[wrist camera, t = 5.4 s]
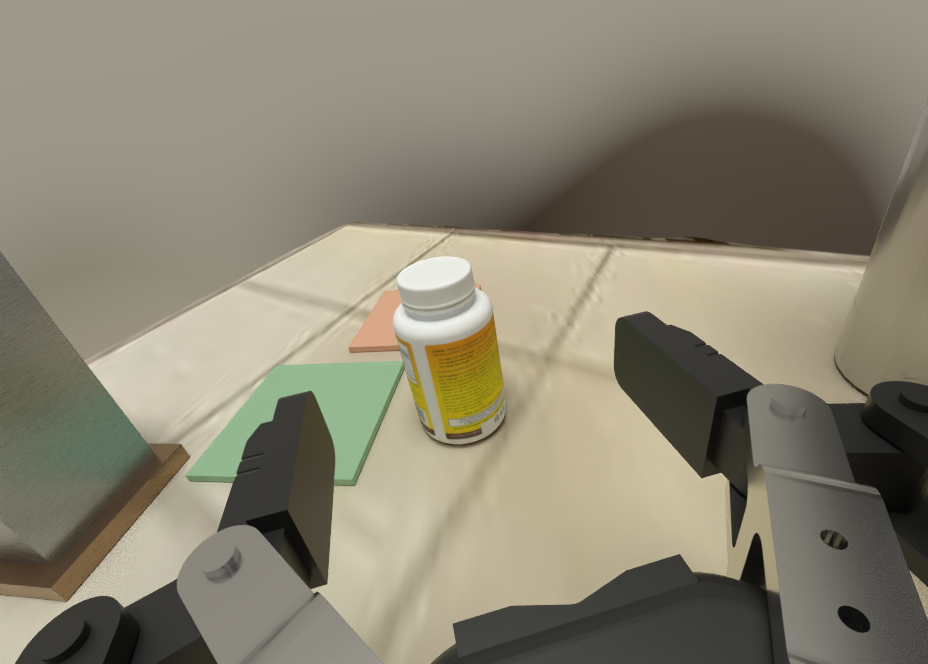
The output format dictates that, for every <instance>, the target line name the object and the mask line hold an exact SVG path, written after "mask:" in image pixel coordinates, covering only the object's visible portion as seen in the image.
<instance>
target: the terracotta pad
mask: <svg viewBox="0 0 928 664" xmlns="http://www.w3.org/2000/svg"><path fill="white" fill-rule="evenodd" d="M475 288H477V289H479V290H481V285H480V284H479V285H475ZM401 303H402V301H401V300H400V293H399V290H395V291H384V292H383V294H382V295H381V297H380V299H379V300H378V302H377V303H376V305H375V306H374V308H373V310H372V311H371V313H370V314H369V316H368V317H367V319H366V320H365V322H364V324H363V325H362V327H361V328H360V330H359V331H358V333H357V335H356V336H355V338H354V339H353V341H352V342H351V344H350V346H349V347H348V348H349V351H350V352H370V351H394V350H400V349H399V346H398V342H397V339H396V335H395V332H394V328H393V316H394V313H395V311H396V309H397V308H398V306H399V305H400V304H401Z"/></svg>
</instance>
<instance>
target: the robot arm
mask: <svg viewBox="0 0 928 664" xmlns="http://www.w3.org/2000/svg"><path fill="white" fill-rule="evenodd" d="M927 101H928V100H927ZM835 360H836V364H837V366H838V368H839V369H840V371H841V372H842V373H843V375H844V376H845V377H846V378H847V379H848V380H849V381H850V382H852V383H853V384H854V385H855V386H856V387H857V388H859V389H861V390H862V391H864V392H865V393H867V394H868V395H869V396H868V398H867V400H866V403H849V404H827V403H825V402H824V401H823V400H822V399H821V398H819V397H818V396H816V395H814V394H812V393H810V392H808V391H806V390H803V389H800V388H797V387H793V386H789V385H783V384H765V385H764V384H762V383H761V382H759V381H758V380H757V379H755V378H754V377H752V376H751V375H750V374H748V373H747V372H745V371H744V370H743V369H741V368H740V367H739V366H737V365H736V364H734V363H733V362H732V361H730V360H729V359H727V358H726V357H725V356H723V355H722V354H718V351H716V350H715V349H714V348H712V347H711V346H709V345H706V343H705V342H704V341H702V340H701V339H700V338H698V337H697V336H695V335H694V334H693V333H691V332H689V331H686V330H684V329H681V328H678V327H676V326H673V325H666V324H665V323H663V322H662V321H661V320H659V319H658V318H657V317H655V316H654V315H653V314H651V313H650V312H641V313H637V314H633V315H629V316H625V317H620V318H618V320H617V321H616V325H615V348H614V372H615V376H616V379H617V381H618V383H619V385H620V387H621V388H622V389H623V390H624V392H625V393H626V394H627V395H628V396H629V397H630V398H631V399H632V401H633V402H634V403H635V404H636V405H637V406H638V407H639V408H640V410H641V411H642V412H643V413H644V414H645V415H646V416H647V417H648V419H649V420H650V421H651V422H652V423H653V424H654V425H655V426H656V428H657V429H658V430H659V431H660V432H661V433H662V434H663V435H664V437H665V438H666V439H667V440H668V441H669V442H670V443H671V444H672V446H673V447H674V448H675V449H676V450H677V451H678V452H679V453H680V455H681V456H682V457H683V458H684V459H685V460H686V461H687V462H688V464H689V465H690V466H691V467H692V468H693V469H694V470H695V471H696V473H697V474H698V475H699V476H700V477H701V478H704V477H707V476H711V475H714V474H718V473H722V474H723V475H724V476H725V477H726V478H727V483H726V488H725V495H726V523H727V551H728V565H727V575H726V576H721V575H717V574H710V573H701V572H692V571H691V570H690V568H689V567H688V565H687V564H686V562H685V561H684V560H683V558H682V557H681V555H680V554H679V555H675V556H672V557H669V558H665V559H662V560H659V561H656V562H652V563H649V564H646V565H643V566H639V567H636V568H633V569H630V570H626V571H625V572H624V573H622V574H621V575H619V576H618V577H616V578H615V579H613V580H612V581H610V582H609V583H607V584H606V585H604V586H603V587H602V588H600V589H599V590H597V591H596V592H594V593H593V594H591V595H590V596H588V597H587V598H585V599H584V600H583V601H581V602H579V603H576V604H571V605H530V606H509V607H506V608H503V609H499V610H496V611H493V612H490V613H486V614H483V615H480V616H477V617H473V618H470V619H467V620H464V621H460V622H457V623H454V624H453V628H454V634H455V639H456V644H455V645H453V646H452V647H450V648H449V649H447V650H446V651H444V652H443V653H442V654H441V655H440V656H439V657H437V658H436V659H435V660H434V661H433V662H432V663H431V664H928V619H927V617H926V614H925V611H924V609H923V606H922V603H921V601H920V598H919V595H918V593H917V590H916V587H915V585H914V582H913V579H912V576H911V574H910V571H911V572H912V573H913V574H914V575H915V576H916V577H918V578H919V579H920V580H921V581H922V582H923V583H924V584H925V585H926V586H927V587H928V102H927V104H926V107H925V109H924V112H923V115H922V118H921V120H920V123H919V126H918V128H917V131H916V134H915V137H914V139H913V142H912V145H911V147H910V150H909V153H908V156H907V158H906V161H905V164H904V167H903V169H902V172H901V175H900V177H899V180H898V183H897V186H896V188H895V191H894V194H893V196H892V199H891V202H890V204H889V207H888V210H887V213H886V215H885V218H884V221H883V223H882V226H881V229H880V232H879V234H878V237H877V240H876V243H875V245H874V248H873V251H872V253H871V256H870V259H869V261H868V264H867V267H866V270H865V272H864V275H863V278H862V280H861V283H860V286H859V289H858V291H857V294H856V296H855V299H854V301H853V304H852V307H851V309H850V312H849V315H848V318H847V320H846V323H845V326H844V329H843V331H842V334H841V337H840V339H839V342H838V345H837V348H836V352H835ZM241 459H242V461H241V462H240V463H239V466H238V470H237V476H236V477H235V479H234V482H233V485H232V488H231V491H230V494H229V497H228V500H227V503H226V506H225V509H224V512H223V515H222V519H221V522H220V525H219V528H218V531H217V533H215V534H213V535H212V536H210V537H209V538H207V539H206V540H205V541H204V542H202V543H201V544H200V545H199V546H198V547H197V548H196V549H195V550H194V551H193V552H192V553H191V554H190V555H189V557H188V558H187V559H186V561H185V562H184V564H183V566H182V568H181V570H180V572H179V575H178V578H177V579H176V580H174V581H173V582H171V583H169V584H167V585H166V586H164V587H162V588H160V589H158V590H156V591H154V592H153V593H151V594H149V595H147V596H145V597H143V598H142V599H140V600H138V601H136V602H134V603H132V604H131V605H129V606H127V607H125V608H124V607H123V606H122V605H121V604H120V603H119V602H118V601H117V600H116V599H114V598H112V597H109V596H98V597H94V598H90V599H87V600H84V601H82V602H80V603H78V604H76V605H74V606H72V607H70V608H69V609H67V610H65V611H64V612H62V613H61V614H60V615H58V616H57V617H55V618H54V619H53V620H52V621H51V622H49V623H48V624H47V625H46V626H45V627H44V628H43V629H42V630H41V631H40V632H38V633H37V635H36V636H35V637H34V638H33V639H32V640H31V641H30V642H29V644H28V645H27V646H26V648H25V649H24V650H23V652H22V653H21V655H20V656H19V658H18V660H17V661H16V663H15V664H383V663H382V661H381V660H380V659H379V658H378V657H377V656H376V655H375V654H374V652H373V651H372V650H371V649H370V648H369V647H368V646H367V645H366V644H365V642H364V641H363V640H362V639H361V638H360V637H359V636H358V635H357V633H356V632H355V631H354V630H353V629H352V628H351V627H350V626H349V624H348V623H347V622H346V621H345V620H344V619H343V618H342V617H341V616H340V614H339V613H338V612H337V611H336V610H335V609H334V608H333V607H332V605H331V604H330V603H329V602H328V601H327V600H326V599H325V598H324V597H323V596H322V595H321V594H320V593H318V592H316V593H315V594H314V593H313V592H312V591H311V590H310V589H312V588H316V587H319V586H323V585H326V584H327V580H328V566H329V551H330V536H331V521H332V506H333V491H334V476H335V449H334V444H333V440H332V437H331V434H330V432H329V429H328V427H327V424H326V422H325V419H324V417H323V414H322V412H321V409H320V407H319V404H318V402H317V399H316V397H315V395H314V393H313V392H312V391H307V392H302V393H298V394H294V395H290V396H286V397H281V398H279V399H278V402H277V405H276V409H275V413H274V416H273V420H272V421H269V422H265V423H261V424H260V425H259V426H258V428H257V429H256V430H255V431H254V433H253V434H252V435H251V436H250V438H249V439H248V440H247V442H246V445H245V448H244V451H243V454H242V457H241ZM909 570H910V571H909Z"/></svg>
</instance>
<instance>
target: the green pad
mask: <svg viewBox="0 0 928 664" xmlns="http://www.w3.org/2000/svg"><path fill="white" fill-rule="evenodd" d="M404 368H405V367H404V363H403V361H390V362H362V363H334V364H305V365H277V366H275V368H274V369H273V370H272V371H271V373H270V374H269V375H268V376H267V377H266V379H265V380H264V381H263V382H262V383H261V385H260V386H259V387H258V388H257V389H256V391H255V392H254V393H253V394H252V395H251V397H250V398H249V399H248V400H247V402H246V403H245V404H244V405H243V406H242V408H241V409H240V410H239V411H238V412H237V414H236V415H235V416H234V417H233V418H232V420H231V421H230V422H229V423H228V424H227V426H226V427H225V428H224V429H223V431H222V432H221V433H220V434H219V435H218V437H217V438H216V439H215V440H214V441H213V443H212V444H211V445H210V446H209V447H208V449H207V450H206V451H205V452H204V453H203V455H202V456H201V457H200V458H199V460H198V461H197V462H196V463H195V464H194V466H193V467H192V468H191V469H190V470H189V472H188V473H187V474H186V475H185V476H186V477H187V479H188V480H189V481H212V482H234V479H235V477H236V476H237V470H238V466H239V463H240V462H241V461H242V459H241V457H242V454H243V451H244V448H245V445H246V442H247V440H248V439H249V438H250V436H251V435H252V434H253V433H254V431H255V430H256V429H257V428H258V426H259V425H260V424H261V423H265V422H269V421H272V420H273V416H274V413H275V409H276V405H277V402H278V399H279V398H281V397H286V396H290V395H294V394H298V393H302V392H307V391H312V392H313V393H314V395H315V397H316V399H317V402H318V404H319V407H320V409H321V412H322V414H323V417H324V419H325V422H326V424H327V427H328V429H329V432H330V434H331V437H332V440H333V444H334V449H335V476H334V485H355V483H356V481H357V478H358V476H359V473H360V471H361V469H362V466H363V464H364V462H365V459H366V457H367V455H368V452H369V450H370V448H371V445H372V443H373V441H374V438H375V436H376V434H377V431H378V429H379V426H380V424H381V422H382V419H383V417H384V415H385V412H386V410H387V408H388V405H389V403H390V401H391V398H392V396H393V394H394V391H395V389H396V387H397V384H398V382H399V379H400V377H401V375H402V372H403V370H404Z"/></svg>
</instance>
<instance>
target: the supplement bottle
mask: <svg viewBox="0 0 928 664" xmlns="http://www.w3.org/2000/svg"><path fill="white" fill-rule="evenodd" d="M397 285H398V289H399V293H400V300H401V301H402V303H401V304H400V305H399V306H398V308H397V309H396V311H395V313H394V316H393V328H394V332H395V335H396V339H397V342H398V346H399V349H400V353H401V356H402V360H403V363H404V367H405V370H406V374H407V378H408V381H409V384H410V387H411V391H412V394H413V398H414V401H415V405H416V408H417V411H418V415H419V418H420V421H421V424H422V426H423V428H424V429H425V431H426V432H427V433H428V434H429V435H430V436H431V437H433V438H435V439H436V440H439V441H441V442H444V443H449V444H466V443H471V442H475V441H478V440H480V439H483V438H485V437H486V436H488V435H489V434H491V433H492V432H493V431H494V430H495V429H496V428H497V427H498V426H499V425H500V423H501V422H502V420H503V418H504V415H505V411H506V399H505V393H504V386H503V378H502V371H501V364H500V357H499V350H498V343H497V336H496V329H495V322H494V315H493V309H492V304H491V301H490V299H489V297H488V296H487V295H486V294H485V293H484V292H483V291H481V290H479V289H477V288H475V282H474V280H473V275H472V269H471V265H470V264H469V262H467V261H466V260H464V259H462V258H458V257H449V256H447V257H435V258H429V259H425V260H422V261H419V262H416V263H414V264H412V265H410V266H408V267H407V268H405V269H404V270H403V271H401V272H400V274H399V275H398V277H397Z"/></svg>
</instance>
